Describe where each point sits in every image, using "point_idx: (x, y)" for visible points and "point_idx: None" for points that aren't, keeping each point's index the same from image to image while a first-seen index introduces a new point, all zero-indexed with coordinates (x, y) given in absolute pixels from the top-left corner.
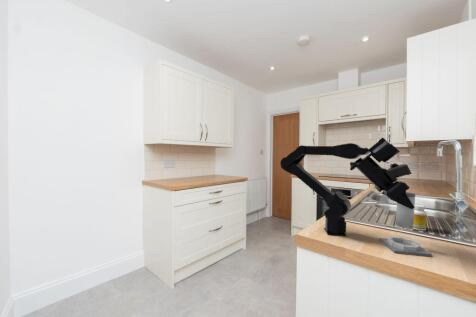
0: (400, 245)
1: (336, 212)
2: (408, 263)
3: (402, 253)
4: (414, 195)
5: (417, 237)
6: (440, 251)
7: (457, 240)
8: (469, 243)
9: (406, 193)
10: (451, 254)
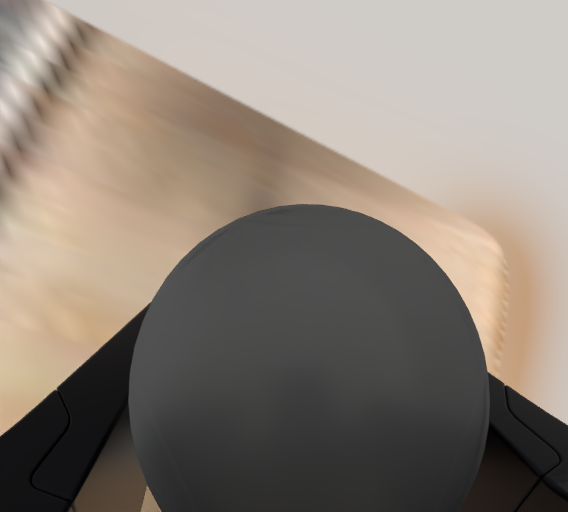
0: None
1: None
2: None
3: None
4: (412, 256)
5: (35, 227)
6: (237, 203)
7: (12, 35)
8: (45, 7)
9: (395, 390)
10: (256, 172)
